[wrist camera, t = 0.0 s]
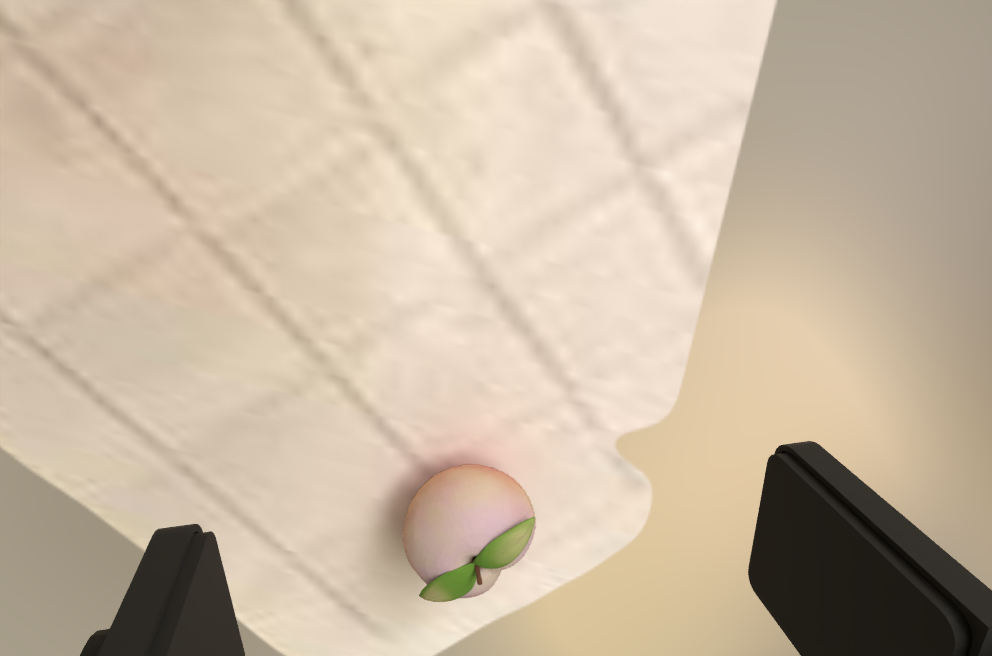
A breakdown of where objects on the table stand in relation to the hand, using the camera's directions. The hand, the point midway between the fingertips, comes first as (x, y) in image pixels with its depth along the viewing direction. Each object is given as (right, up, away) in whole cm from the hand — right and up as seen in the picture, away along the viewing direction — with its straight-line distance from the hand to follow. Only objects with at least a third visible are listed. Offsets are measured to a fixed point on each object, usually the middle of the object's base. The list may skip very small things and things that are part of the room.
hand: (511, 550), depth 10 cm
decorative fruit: (-3, -8, +37) cm, 38 cm away
